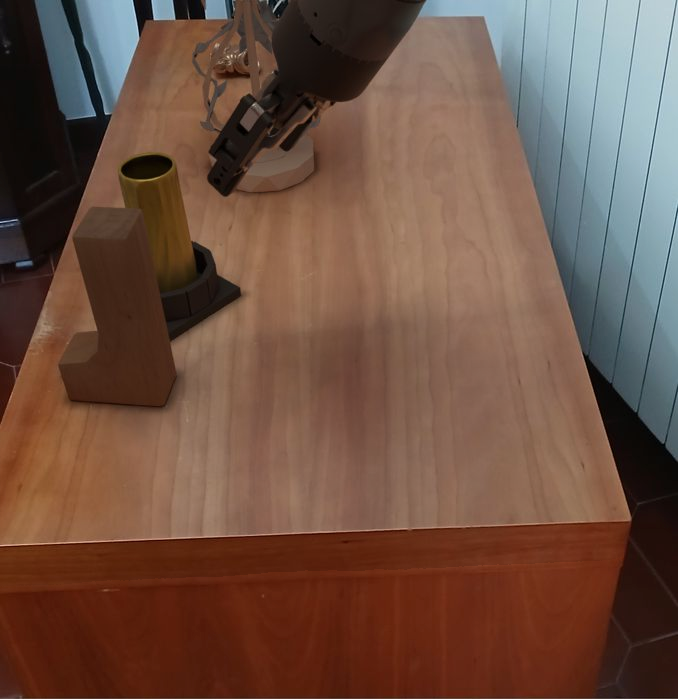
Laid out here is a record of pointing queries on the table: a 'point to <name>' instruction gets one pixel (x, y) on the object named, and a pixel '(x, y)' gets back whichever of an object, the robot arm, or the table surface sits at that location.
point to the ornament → (232, 60)
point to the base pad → (197, 295)
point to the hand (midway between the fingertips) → (249, 164)
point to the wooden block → (119, 315)
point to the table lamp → (254, 25)
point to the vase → (161, 216)
